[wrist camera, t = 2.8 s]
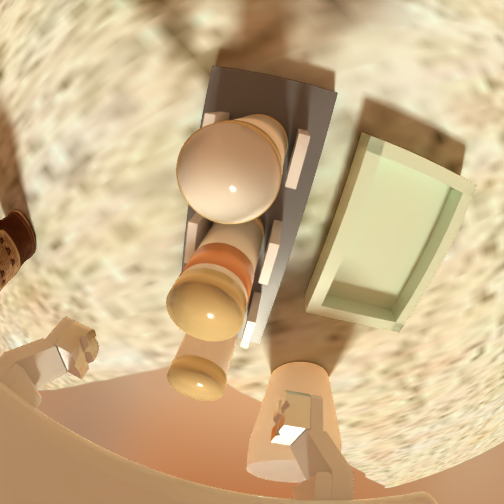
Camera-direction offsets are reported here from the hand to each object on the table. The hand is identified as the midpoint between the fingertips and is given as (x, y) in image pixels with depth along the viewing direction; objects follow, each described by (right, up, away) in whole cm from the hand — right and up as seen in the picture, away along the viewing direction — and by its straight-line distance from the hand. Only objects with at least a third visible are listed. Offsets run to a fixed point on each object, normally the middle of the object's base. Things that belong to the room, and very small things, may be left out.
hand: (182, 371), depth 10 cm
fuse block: (+2, +7, +12) cm, 14 cm away
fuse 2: (0, +1, +14) cm, 14 cm away
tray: (+13, +6, +10) cm, 18 cm away
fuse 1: (+3, +12, +7) cm, 14 cm away
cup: (+8, -10, +20) cm, 24 cm away
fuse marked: (+2, +6, +10) cm, 12 cm away
